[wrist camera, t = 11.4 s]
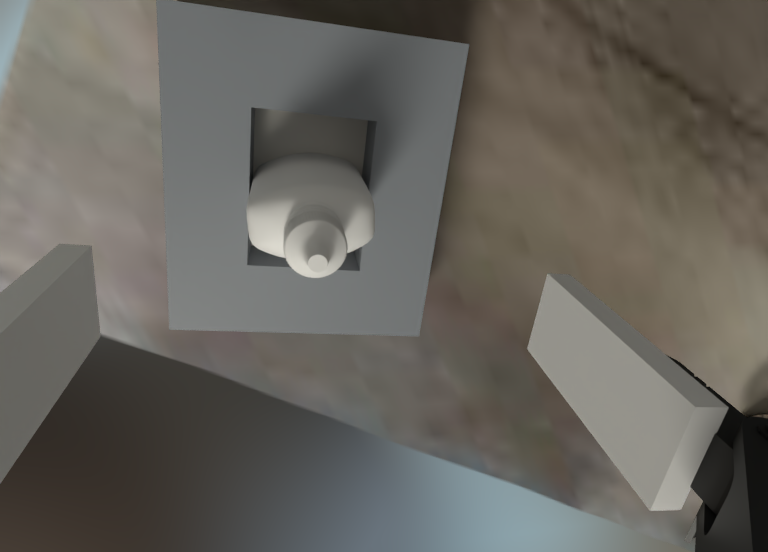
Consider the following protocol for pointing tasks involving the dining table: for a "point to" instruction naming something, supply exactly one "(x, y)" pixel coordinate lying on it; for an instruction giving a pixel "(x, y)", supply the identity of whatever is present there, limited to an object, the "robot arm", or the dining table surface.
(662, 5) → the dining table surface
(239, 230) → the hole block
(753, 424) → the robot arm
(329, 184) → the eye dropper bottle
